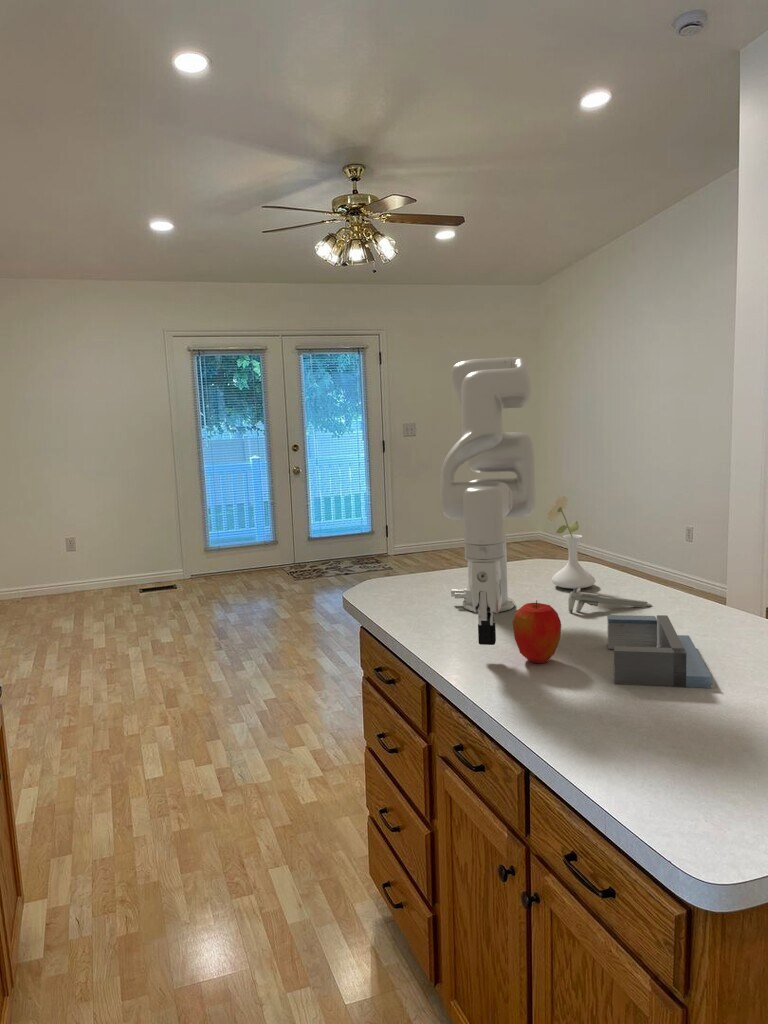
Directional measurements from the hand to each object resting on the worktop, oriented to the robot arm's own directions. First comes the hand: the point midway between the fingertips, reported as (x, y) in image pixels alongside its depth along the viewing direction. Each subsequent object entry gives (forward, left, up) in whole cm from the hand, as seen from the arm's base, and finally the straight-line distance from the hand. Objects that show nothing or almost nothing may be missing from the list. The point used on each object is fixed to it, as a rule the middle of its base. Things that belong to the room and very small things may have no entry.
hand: (487, 643), depth 137 cm
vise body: (+31, +1, -3) cm, 31 cm away
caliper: (+25, +37, -4) cm, 45 cm away
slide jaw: (+28, +9, -3) cm, 29 cm away
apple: (+9, 0, -3) cm, 10 cm away
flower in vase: (+16, +57, -3) cm, 60 cm away
